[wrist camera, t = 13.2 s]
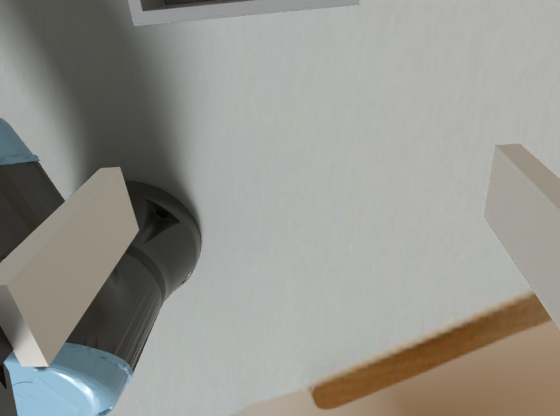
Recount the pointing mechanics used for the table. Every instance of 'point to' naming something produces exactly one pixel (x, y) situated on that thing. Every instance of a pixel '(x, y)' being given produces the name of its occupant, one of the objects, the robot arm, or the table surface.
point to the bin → (219, 9)
